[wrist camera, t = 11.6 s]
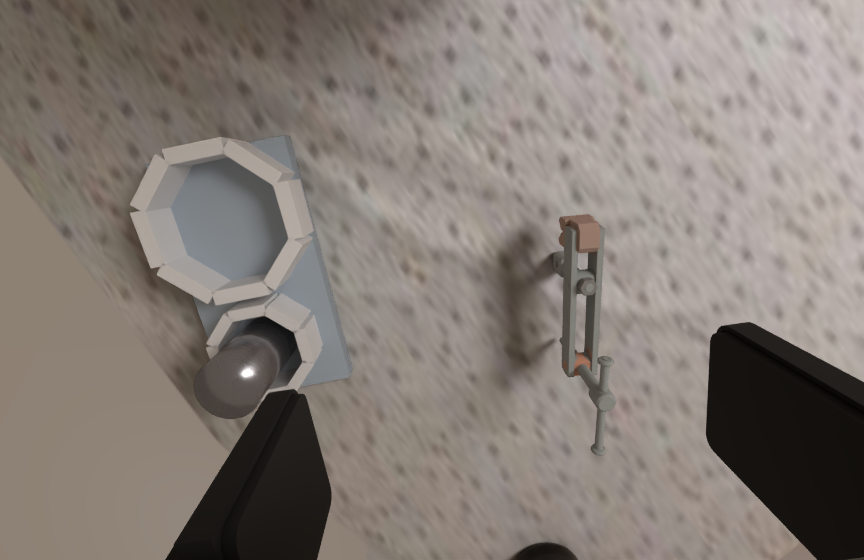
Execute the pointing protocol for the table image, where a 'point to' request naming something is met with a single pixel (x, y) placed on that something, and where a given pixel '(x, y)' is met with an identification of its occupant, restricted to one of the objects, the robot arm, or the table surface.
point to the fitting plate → (243, 248)
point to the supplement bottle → (547, 552)
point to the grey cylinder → (244, 369)
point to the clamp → (575, 239)
